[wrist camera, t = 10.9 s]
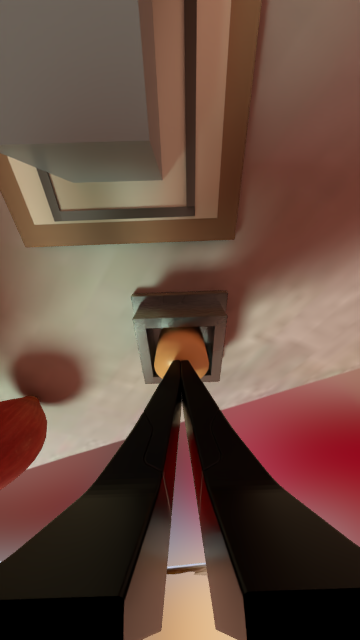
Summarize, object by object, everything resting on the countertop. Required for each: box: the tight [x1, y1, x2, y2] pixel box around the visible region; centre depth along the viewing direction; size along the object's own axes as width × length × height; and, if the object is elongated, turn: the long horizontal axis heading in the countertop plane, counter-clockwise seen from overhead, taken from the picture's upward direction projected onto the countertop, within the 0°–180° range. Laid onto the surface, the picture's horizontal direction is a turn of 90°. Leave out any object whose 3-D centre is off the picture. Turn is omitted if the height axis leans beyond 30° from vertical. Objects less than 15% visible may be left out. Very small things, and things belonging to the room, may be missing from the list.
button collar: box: [131, 291, 228, 384], centre depth 11 cm, size 6×6×2 cm
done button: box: [154, 327, 209, 379], centre depth 10 cm, size 3×3×2 cm
